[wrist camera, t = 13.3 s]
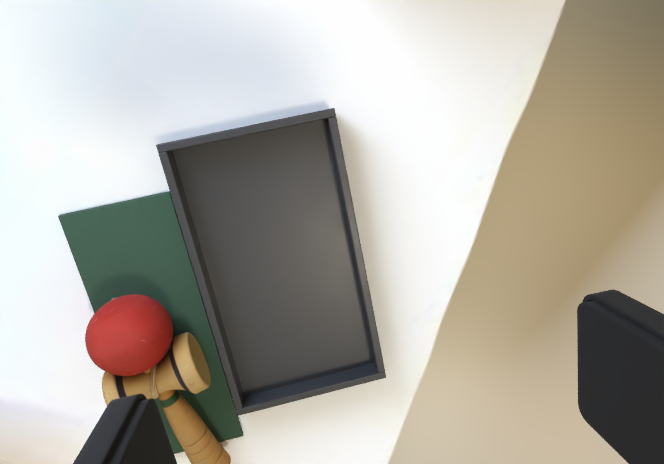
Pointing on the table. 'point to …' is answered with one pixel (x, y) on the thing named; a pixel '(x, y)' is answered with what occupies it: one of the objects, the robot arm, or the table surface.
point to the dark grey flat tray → (277, 257)
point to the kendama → (153, 367)
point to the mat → (152, 287)
